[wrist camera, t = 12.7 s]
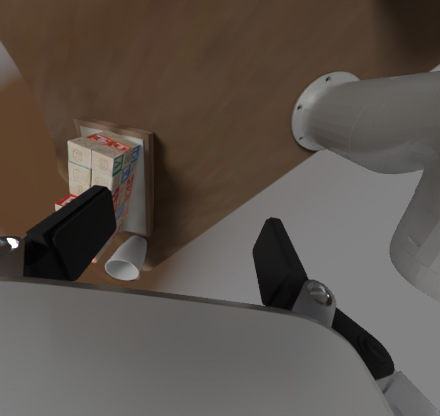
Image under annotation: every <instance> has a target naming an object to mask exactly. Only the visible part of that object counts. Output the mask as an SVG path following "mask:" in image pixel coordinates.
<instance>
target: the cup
mask: <svg viewBox="0 0 440 416" xmlns="http://www.w3.org/2000/svg"><path fill="white" fill-rule="evenodd" d="M146 251H147V241H146V240H145V239H144V238H143V237H141V236H132V237H131V238H129V239H128V240H127V241H125V242H124V243H123V244H122V245H121V246H120V247H119V248H118V249H117V250H116V251H115V253H114V254H113V255H112V257H111V258H110V259H109V260H108V262H107V263H106V264H105V269H106V271H107V272H108V273H109V274H110V275H111V276H113V277H115V278H118V279H121V280H132V279H135V278H137V277H138V275H139V273H140V270H141V267H142V265H143V262H144V259H145V255H146Z"/></svg>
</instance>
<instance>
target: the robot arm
mask: <svg viewBox="0 0 440 416" xmlns="http://www.w3.org/2000/svg"><path fill="white" fill-rule="evenodd" d="M326 78H327V81H326ZM298 106H299V109H297V107H298ZM291 131H292V134H293V137H294V138H295V140H296V141H297V142H298V143H299V144H300V145H301V146H303V147H305V148H307V149H310V150H325V149H328V150H331V151H332V152H335V153H336V154H339V155H340V156H342V157H344V158H347V159H349V160H351V161H353V162H354V163H357V164H359V165H361V166H363V167H365V168H367V169H369V170H372V171H375V172H379V173H384V174H401V173H408V172H414V171H418V170H422V169H424V171H423V174H422V177H421V179H420V181H419V184H418V186H417V188H416V190H415V194H414V195H413V197H412V200H411V201H410V203H409V205H408V207H407V209H406V211H405V213H404V215H403V217H402V219H401V220H400V222H399V224H398V226H397V229H396V231H395V233H394V235H393V237H392V240H391V244H390V257H391V260H392V263H393V265H394V266H395V268H396V269H397V271H398V272H399V273H400V274H401V275H402V276H403V277H404V278H405V279H406V280H407V281H408V282H409V283H411V284H412V285H413V286H415V287H416V288H417V289H419V290H421V291H422V292H423V293H425V294H427V295H428V296H430V297H432V298H433V299H435V300H437V301H439V302H440V71H436V72H427V73H419V74H412V75H403V76H395V77H386V78H378V79H369V80H359V79H358V78H357V77H356V76H355V75H353V74H351V73H349V72H342V71H341V72H333V73H328V74H326V75H323V76H321V77H319V78H318V79H316V80H314V81H313V82H312V83H311V84H310V85H308V86H307V87H306V88H305V90H304V91H303V92H302V93H301V94H300V96H299V98H298V99H297V101H296V103H295V105H294V108H293V111H292V115H291ZM300 137H301V139H299V138H300ZM116 228H117V224H116V218H115V211H114V205H113V198H112V192H111V190H109V189H108V187H105V186H100V185H93V186H92V187H91V188H89V189H88V190H86V191H85V192H83V193H82V194H80V195H79V196H78V197H76V198H75V199H73V200H72V201H70V202H69V203H67V204H66V205H65V206H63V207H62V208H60V209H59V210H57V211H56V212H54V213H53V214H52V215H50V216H49V217H47V218H46V219H44V220H43V221H41V222H40V223H39V224H37V225H36V226H34V227H33V228H31V229H30V230H28V231H27V236H26V237H25V238H21V237H19V236H15V235H14V236H13V235H10V236H9V235H7V236H0V416H440V412H439V411H438V410H437V408H436V407H435V406H434V405H433V404H432V403H431V402H430V401H429V400H428V399H427V398H426V397H425V396H424V395H423V394H422V393H421V392H420V391H419V390H418V389H417V387H416V386H414V384H413V383H412V382H411V381H410V380H409V379H408V378H407V377H406V376H405V375H404V374H403V373H402V372H401V371H399V372H397V371H396V370H395V369H394V363H393V361H392V359H391V356H390V355H389V353H388V352H387V350H386V349H385V348H384V347H383V345H382V344H381V343H380V342H379V341H378V340H377V339H375V338H374V337H373V336H372V335H371V334H369V333H368V332H367V331H366V330H364V329H363V328H362V327H360V326H359V325H358V324H357V323H355V322H354V321H353V320H352V319H350V318H349V317H348V316H346V315H345V314H344V313H343V312H341V311H340V310H339V309H338V308H336V300H335V297H334V295H333V294H332V292H331V291H330V290H329V289H328V288H327V287H326V286H325V285H324V284H322V283H320V282H318V281H316V280H309V279H308V277H307V274H306V272H305V270H304V268H303V266H302V264H301V262H300V260H299V258H298V255H297V253H296V251H295V249H294V247H293V245H292V243H291V241H290V239H289V236H288V234H287V232H286V230H285V228H284V226H283V224H282V222H281V220H280V219H278V218H272V217H271V218H269V219H267V220H266V221H265V224H264V226H263V228H262V230H261V233H260V235H259V237H258V239H257V241H256V243H255V245H254V248H253V258H254V263H255V269H256V273H257V278H258V284H259V289H260V294H261V299H262V303H263V305H265V306H261V305H254V304H247V303H240V302H232V301H225V300H217V299H209V298H202V297H195V296H186V295H179V294H171V293H163V292H155V291H147V290H139V289H131V288H123V287H114V286H106V285H97V284H90V283H81V282H73V281H76V280H77V279H78V278H79V277H80V275H81V274H82V273H83V272H84V270H85V269H86V268H87V267H88V265H89V264H90V263H91V262H92V260H93V259H94V258H95V256H96V255H97V254H98V253H99V251H100V250H101V249H102V248H103V246H104V245H105V244H106V243H107V241H108V240H109V239H110V237H111V236H112V235H113V234H114V232H115V231H116Z"/></svg>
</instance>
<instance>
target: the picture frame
mask: <svg viewBox="0 0 440 416" xmlns="http://www.w3.org/2000/svg"><path fill="white" fill-rule="evenodd" d="M74 123H75V127H76V131H77V136H78V138H80V137H86V136H89V135H92V134H95V133H100V132H103V131H110V132H112V133H115V134H117V135H119V136H122V137H124V138H126V139H128V140H131V141H133V142H135V143H137V144H140V149H139V154H138V159H137V165H136V170H135V173H134V178H133V183H132V190H131V194H130V195H131V198H130V203H129V207H128V213H127V216H126V221H125V224H124V225H123V227H122V228H121V230H120V231H119V232H123V233H130V234H136V235H142V236H148V237H150V236H151V234H152V232H153V230H154V132H150V131H145V130H141V129H137V128H132V127H128V126H123V125H119V124H114V123H110V122H106V121H101V120H97V119H92V118H88V117H81V118H74Z"/></svg>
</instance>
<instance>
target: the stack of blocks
mask: <svg viewBox="0 0 440 416" xmlns="http://www.w3.org/2000/svg"><path fill="white" fill-rule="evenodd" d="M139 149H140V144H137V143H135V142H133V141H131V140H128V139H126V138H124V137H122V136H119V135H117V134H115V133H112V132H110V131H103V132H100V133H95V134H92V135H89V136H86V137H80V138H76V139H73V140H69V141H68V157H69V161H68V165H69V187H70V193H71V194H70V195H68V196H66V197H65V198H63V199H62V200H60V201H59V202H57V203H56V204H55V209H56V211H57V210H59V209H60V208H62V207H63V206H65V205H66V204H67V203H69V202H70V201H72V200H73V199H75V198H76V197H78V196H79V195H80V194H82V193H83V192H85V191H86V190H88V189H89V188H91V187H92V186H93V185H100V186H105V187H108V189H109V190H111V192H112V198H113V205H114V211H115V218H116V224H117V228H116V231H115V232H114V234H113V235H112V236H111V237H110V239H109V240H108V241H107V243H106V244H105V245H104V246H103V248H102V249H101V250H100V251H99V253H98V254H97V255H96V256H95V258H94V259H93V260H92V262H94V263H96V262H97V261H98V259H99V258H100V257H101V255H102V253H103V252H104V251H105V250H106V248H107V247H108V246H109V244H110V243H111V242H112V240H113V238H114V237H115V236H116V234H117V233H118V232H119V231H120V230H121V228H122V227H123V225H124V224H125V221H126V216H127V213H128V207H129V203H130V198H131V195H130V194H131V190H132V183H133V178H134V173H135V170H136V165H137V159H138V154H139Z"/></svg>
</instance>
